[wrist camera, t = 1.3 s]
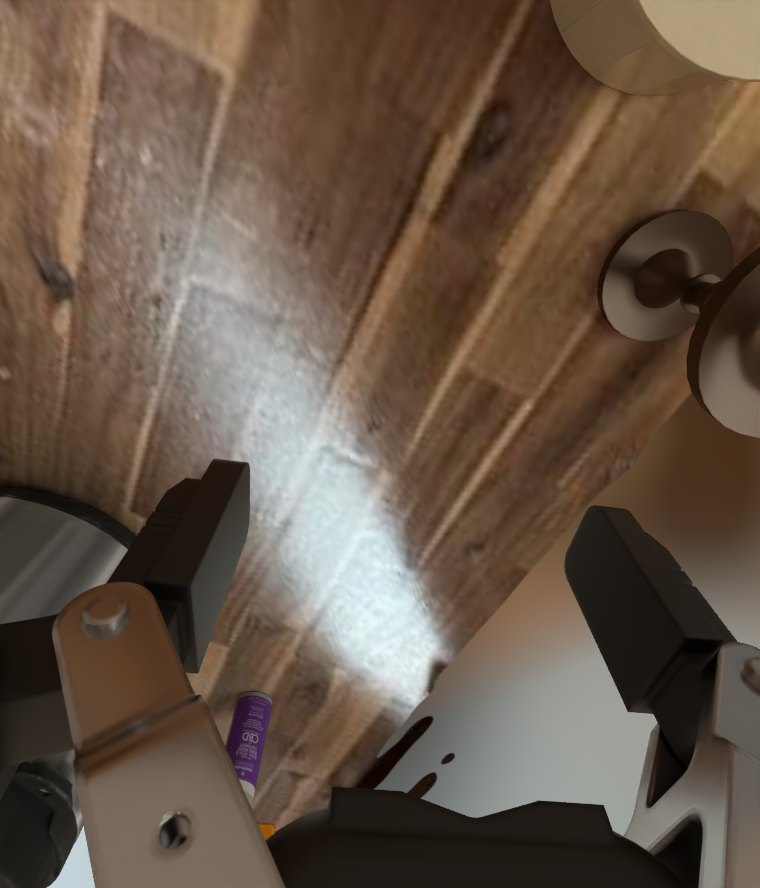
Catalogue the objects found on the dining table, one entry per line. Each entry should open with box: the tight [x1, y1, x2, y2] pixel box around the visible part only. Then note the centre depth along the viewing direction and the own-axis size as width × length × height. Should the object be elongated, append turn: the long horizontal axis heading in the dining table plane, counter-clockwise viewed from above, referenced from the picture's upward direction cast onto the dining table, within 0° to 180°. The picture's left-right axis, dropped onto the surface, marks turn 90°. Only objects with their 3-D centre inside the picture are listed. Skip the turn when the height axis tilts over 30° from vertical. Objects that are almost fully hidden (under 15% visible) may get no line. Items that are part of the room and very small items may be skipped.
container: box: [225, 692, 272, 806], centre depth 56 cm, size 5×5×15 cm
